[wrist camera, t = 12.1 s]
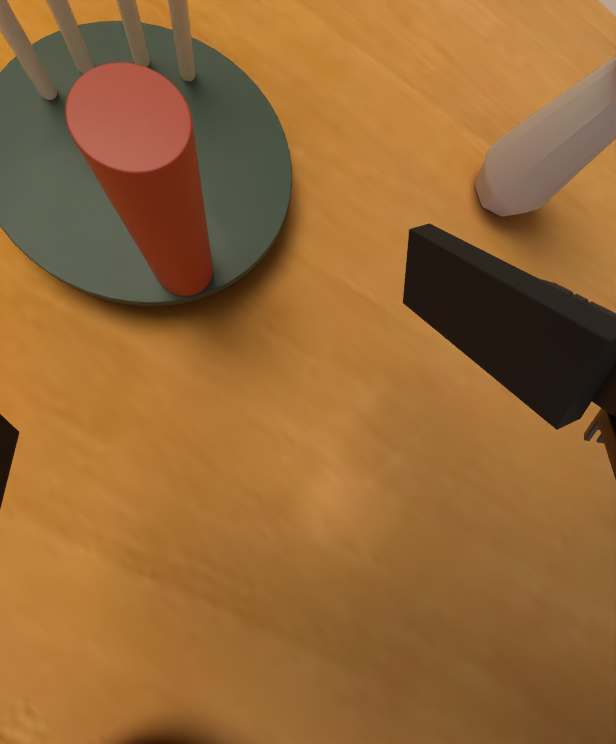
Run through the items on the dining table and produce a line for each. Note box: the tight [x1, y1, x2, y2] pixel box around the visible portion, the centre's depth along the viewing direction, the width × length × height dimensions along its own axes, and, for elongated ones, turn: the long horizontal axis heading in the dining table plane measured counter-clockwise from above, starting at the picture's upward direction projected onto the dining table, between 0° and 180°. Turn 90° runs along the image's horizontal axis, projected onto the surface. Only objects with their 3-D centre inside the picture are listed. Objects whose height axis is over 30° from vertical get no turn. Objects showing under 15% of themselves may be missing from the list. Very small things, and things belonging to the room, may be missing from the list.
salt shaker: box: [475, 56, 616, 217], centre depth 22 cm, size 6×6×13 cm
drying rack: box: [0, 0, 292, 306], centre depth 16 cm, size 17×17×13 cm
